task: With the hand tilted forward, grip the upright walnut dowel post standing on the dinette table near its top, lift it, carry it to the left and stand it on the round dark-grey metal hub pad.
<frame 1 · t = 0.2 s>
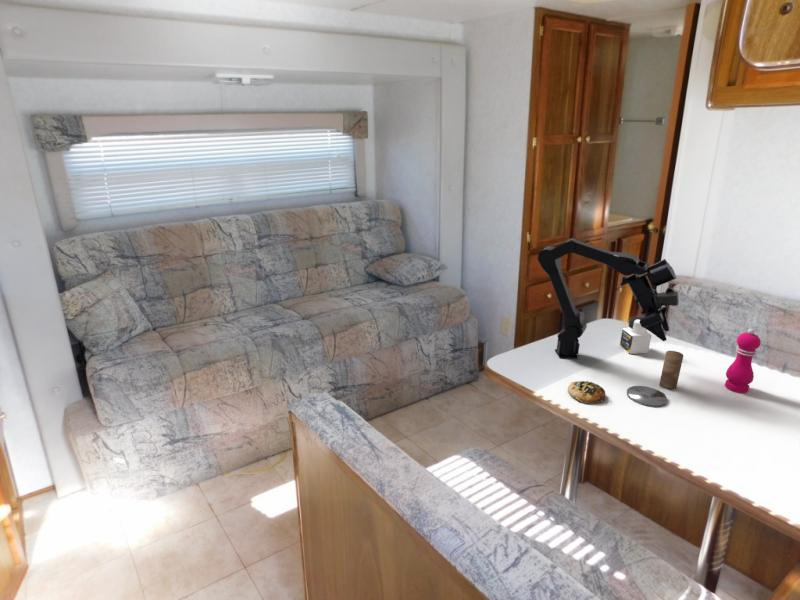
hand: (666, 335, 167), 14 cm above the table, tool tilted 35°, fingers open, 9 cm apart
hub pad: (646, 397, 158), on the table
bread roll: (585, 396, 159), on the table
medicine bottle: (633, 350, 191), on the table
walnut post: (667, 386, 165), on the table
pepper mill: (736, 388, 165), on the table
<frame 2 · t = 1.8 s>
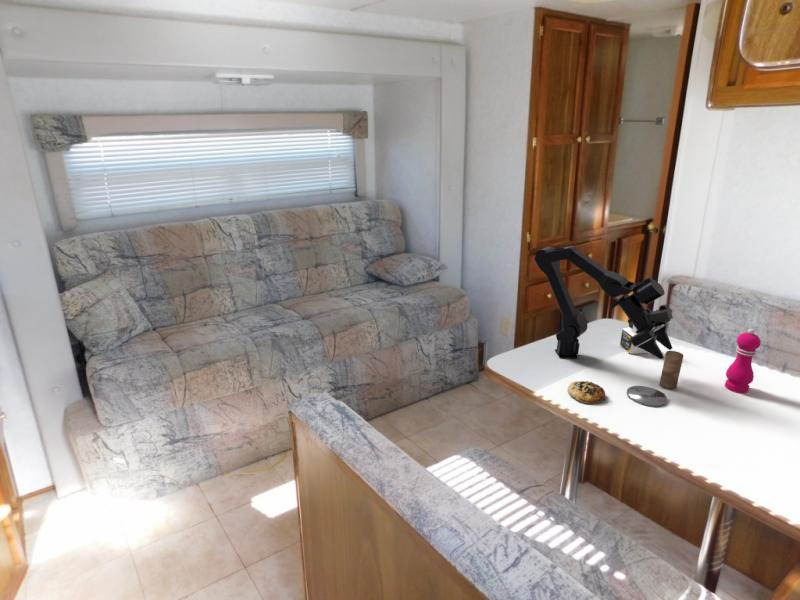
hand: (666, 353, 163), 10 cm above the table, tool tilted 45°, fingers open, 9 cm apart
nothing on the table moved.
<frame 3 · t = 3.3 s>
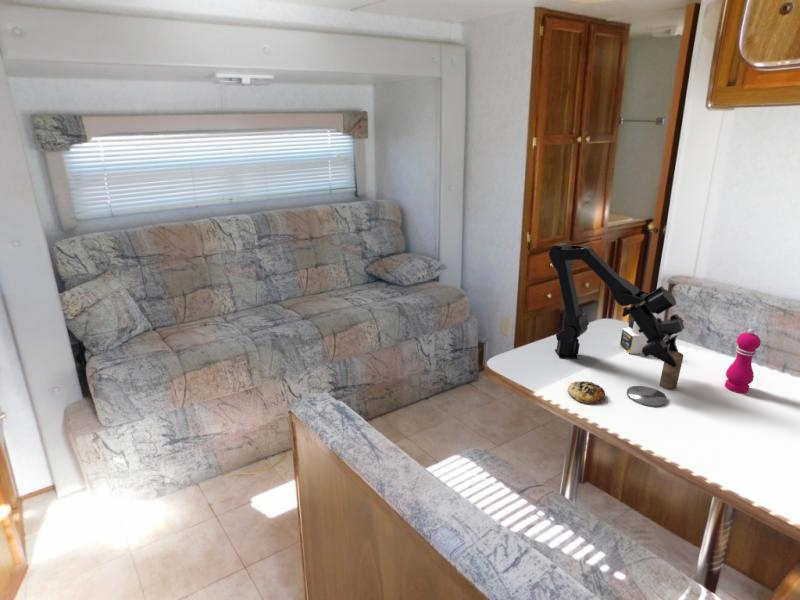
hand: (677, 363, 161), 8 cm above the table, tool tilted 45°, fingers closed on walnut post, 5 cm apart
walnut post: (667, 386, 165), on the table, touching gripper
everything else where it was.
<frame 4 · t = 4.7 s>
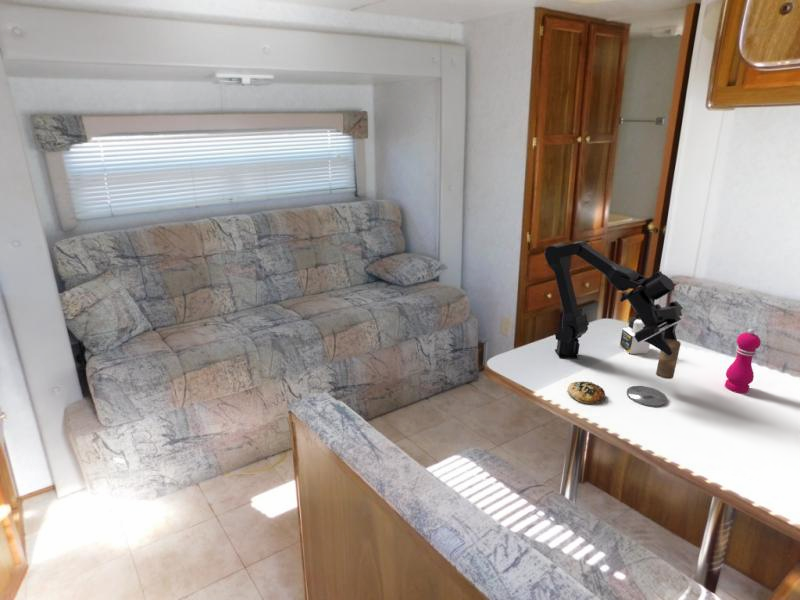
hand: (674, 352, 156), 13 cm above the table, tool tilted 45°, fingers closed on walnut post, 5 cm apart
walnut post: (664, 375, 160), point 5 cm above the table, touching gripper
everything else where it was.
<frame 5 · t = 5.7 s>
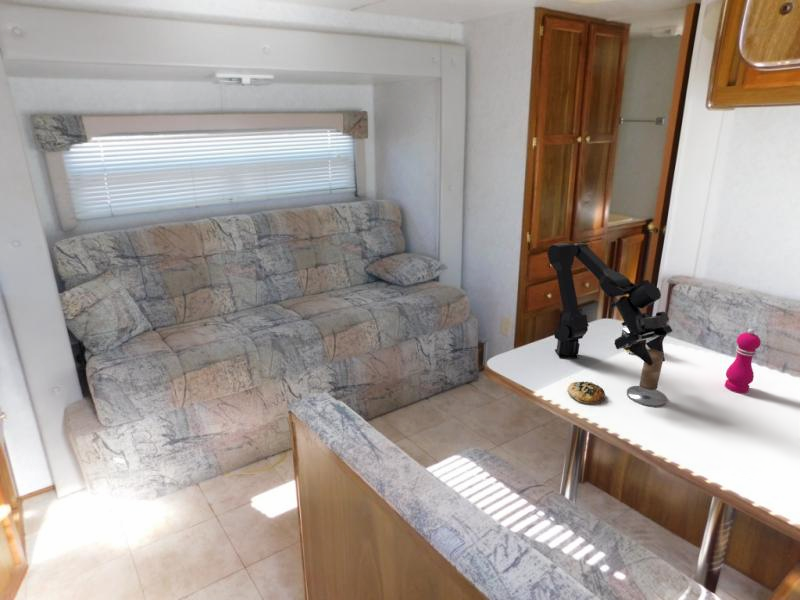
hand: (657, 363, 153), 12 cm above the table, tool tilted 45°, fingers closed on walnut post, 5 cm apart
walnut post: (648, 386, 157), point 4 cm above the table, touching gripper
everything else where it was.
when the fingers open (10 cm above the table, at t = 6.4 s): walnut post stays where it is, resting on hub pad.
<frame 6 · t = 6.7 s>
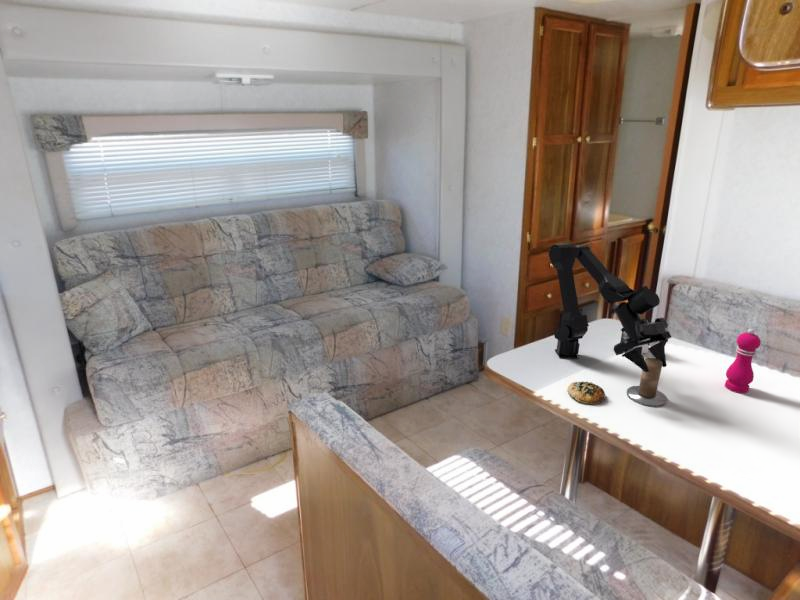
hand: (656, 369, 154), 10 cm above the table, tool tilted 45°, fingers open, 7 cm apart
walnut post: (646, 394, 158), point 1 cm above the table, touching hub pad
everything else where it was.
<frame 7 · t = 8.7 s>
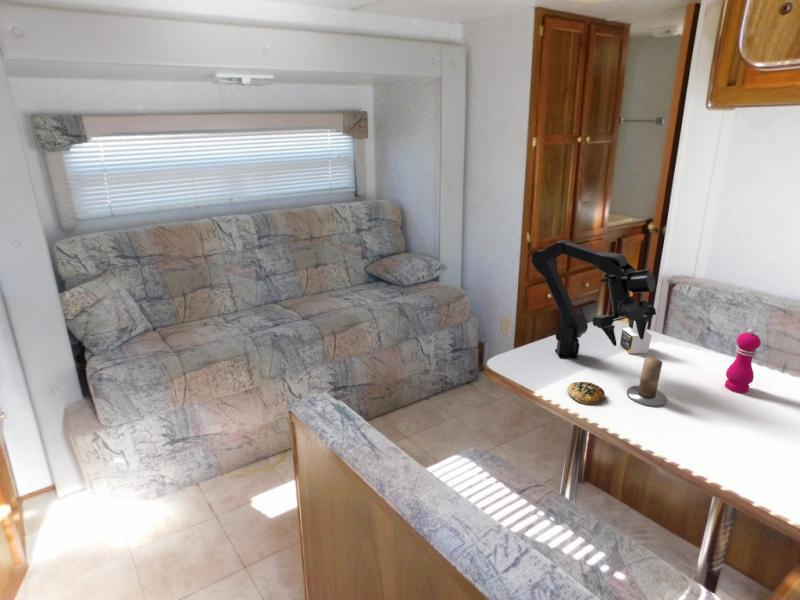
hand: (628, 342, 168), 11 cm above the table, tool tilted 20°, fingers open, 9 cm apart
nothing on the table moved.
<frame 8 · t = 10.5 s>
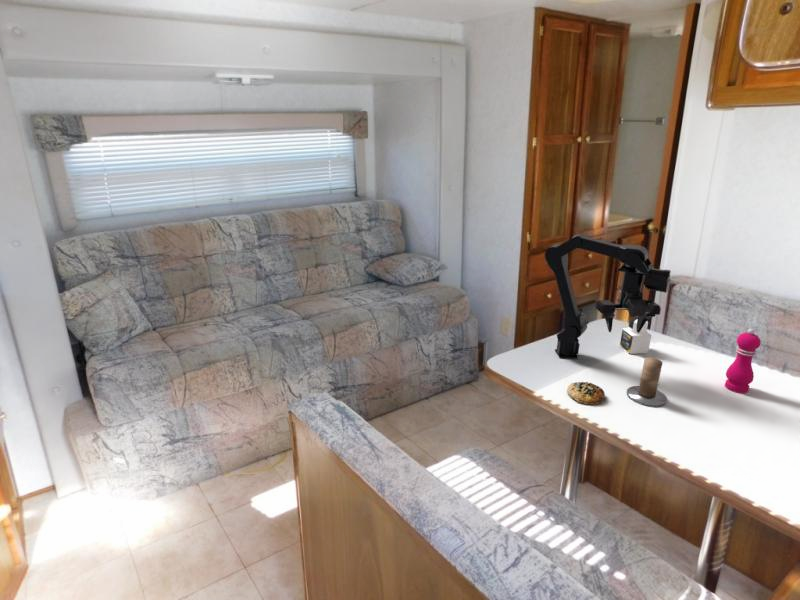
hand: (623, 332, 172), 13 cm above the table, tool pointing down, fingers open, 9 cm apart
nothing on the table moved.
at the end: walnut post 0.0 cm from the hub pad (horizontally); walnut post tilted 0°; the gripper is holding nothing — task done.
